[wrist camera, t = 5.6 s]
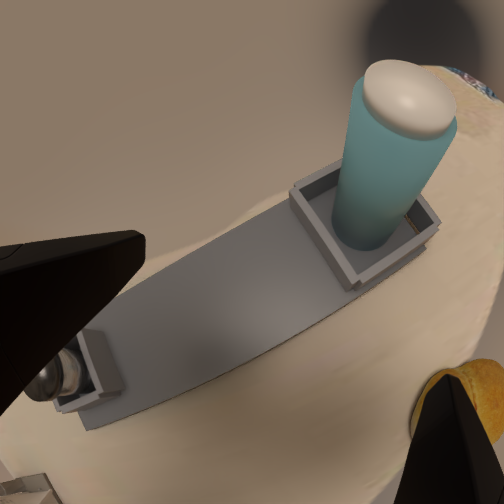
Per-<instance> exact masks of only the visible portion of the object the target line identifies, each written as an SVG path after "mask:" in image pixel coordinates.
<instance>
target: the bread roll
mask: <svg viewBox="0 0 504 504" xmlns="http://www.w3.org/2000/svg"><path fill="white" fill-rule="evenodd" d="M444 374H451V375H454V376H456V377H458V378H459V379H460V381H461V383H462V384H463V386H464V388H465V390H466V392H467V394H468V396H469V398H470V400H471V402H472V404H473V406H474V408H475V410H476V412H477V414H478V416H479V418H480V420H481V422H482V424H483V427H484V429H485V431H486V433H487V435H488V438H489V440H490V442H491V445H493V444H494V443H495V442H496V441H497V440H498V439H499V438H500V436H501V435H502V434H503V432H504V369H503V367H502V366H501V365H500V364H499V363H498V362H496V361H494V360H490V359H476V360H473V361H471V362H468V363H466V364H464V365H463V366H461V367H458V368H455V369H445V370H443V371H441V372H439V373H437V374H435V375H434V376H433V377H432V378H431V379H430V381H429V382H428V383H427V385H426V387H425V389H424V391H423V392H422V394H421V396H420V398H419V400H418V402H417V405H416V407H415V410H414V412H413V416H412V419H411V436H412V438H413V435H414V432H415V429H416V426H417V422H418V419H419V416H420V412H421V409H422V405H423V401H424V398H425V396H426V394H427V392H428V391H429V390H430V389H431V388H432V387H433V386H434V385H435V383H436V382H437V381H438V380H439V379H440V378H441V377H442V376H443V375H444Z"/></svg>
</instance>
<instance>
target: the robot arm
mask: <svg viewBox="0 0 504 504" xmlns="http://www.w3.org/2000/svg"><path fill="white" fill-rule="evenodd" d="M145 242H146V239H145V236H144V235H143V234H141V233H139V232H137V231H135V230H127V231H117V232H108V233H101V234H91V235H84V236H75V237H67V238H59V239H52V240H45V241H37V242H31V243H25V244H16V245H8V246H1V247H0V416H1V415H2V414H3V413H4V412H5V410H6V409H7V408H8V407H9V406H10V405H11V404H12V402H13V401H14V400H15V399H16V398H17V397H18V396H19V395H20V394H21V392H22V391H23V390H24V389H25V388H26V387H27V386H28V385H29V383H30V382H31V381H32V380H33V379H34V378H35V377H36V376H37V375H38V374H39V373H40V372H41V371H42V370H43V369H44V368H45V366H46V365H47V364H48V363H49V362H50V361H51V360H52V359H53V358H54V357H55V356H56V355H57V354H58V353H59V352H60V351H61V350H62V349H63V348H64V347H65V346H66V345H67V344H68V343H69V342H70V341H71V340H72V339H73V338H74V337H75V336H76V335H77V334H78V333H79V332H80V331H81V330H82V329H83V328H84V327H85V326H86V325H87V324H88V323H89V322H90V321H91V320H92V319H93V318H94V317H95V316H96V315H97V314H98V313H99V312H100V311H101V310H103V309H104V308H105V307H106V306H107V305H108V304H109V303H110V302H111V301H112V300H113V299H114V298H115V296H116V295H117V294H118V293H119V292H120V291H121V290H122V288H123V287H124V286H125V285H126V284H127V283H128V282H129V280H130V279H131V278H132V277H133V276H134V275H135V274H136V273H137V271H138V270H139V269H140V268H141V267H142V266H143V264H144V262H145V247H146V243H145ZM394 504H504V474H503V472H502V469H501V467H500V464H499V462H498V459H497V456H496V454H495V452H494V449H493V447H492V445H491V442H490V440H489V438H488V435H487V433H486V431H485V429H484V427H483V424H482V422H481V420H480V418H479V416H478V414H477V412H476V410H475V408H474V406H473V404H472V402H471V400H470V398H469V396H468V394H467V392H466V390H465V388H464V386H463V384H462V383H461V381H460V379H459V378H458V377H456V376H454V375H451V374H444V375H443V376H442V377H441V378H440V379H439V380H438V381H437V382H436V383H435V385H434V386H433V387H432V388H431V389H430V390H429V391H428V392H427V394H426V396H425V398H424V401H423V405H422V409H421V412H420V416H419V419H418V422H417V426H416V429H415V432H414V435H413V438H412V441H411V444H410V448H409V452H408V455H407V459H406V463H405V467H404V471H403V475H402V478H401V481H400V485H399V488H398V491H397V494H396V497H395V500H394Z"/></svg>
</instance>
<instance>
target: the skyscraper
mask: <svg viewBox="0 0 504 504" xmlns="http://www.w3.org/2000/svg"><path fill="white" fill-rule="evenodd" d="M19 492H22V493H19ZM15 493H18V494H15ZM11 494H12V495H11ZM0 496H1V497H0V504H62V502H61V501H60V499H59V497H58V496H57V494H56V492H55V490H54V489H53V487H52V485H51V483H50V481H49V480H48V478H47V476H46V474H45V473H43V474H38V475H33V476H27V477H21V478H16V479H15V480H12V481H7V482H3V483H0Z"/></svg>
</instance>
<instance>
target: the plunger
mask: <svg viewBox="0 0 504 504" xmlns="http://www.w3.org/2000/svg"><path fill="white" fill-rule="evenodd" d="M94 391H96V388H95V386H94V383H93V381H92V378H91V376H90V373H89V370H88V368H87V365H86V362H85V359H84V356H83V354H82V351H81V350H77V349H68V348H63V349H62V350H61V351H60V352H59V353H58V354H57V355H56V356H55V357H54V358H53V359H52V360H51V361H50V362H49V363H48V364H47V365H46V366H45V368H44V369H43V370H42V371H41V372H40V373H39V374H38V375H37V376H36V377H35V378H34V379H33V380H32V381H31V382H30V383H29V385H28V386H27V387H26V388H25V389H24V392H25V393H26V395H27V396H28V397H29V398H31V399H32V400H34V401H38V402H41V401H52V400H54V399H56V398H57V397H58V396H66V395H78V394H89V393H92V392H94Z"/></svg>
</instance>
